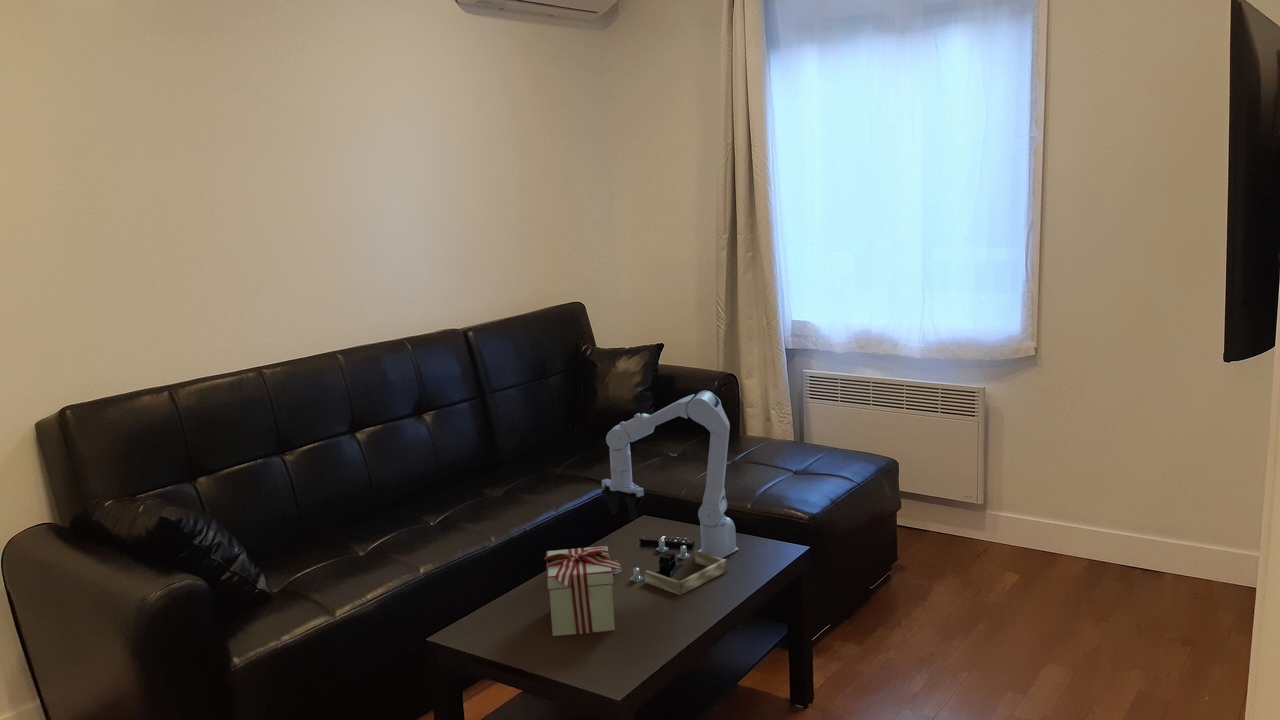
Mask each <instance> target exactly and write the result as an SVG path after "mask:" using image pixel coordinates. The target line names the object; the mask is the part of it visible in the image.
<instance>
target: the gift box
mask: <svg viewBox="0 0 1280 720" xmlns="http://www.w3.org/2000/svg"><path fill="white" fill-rule="evenodd" d="M615 560H616V559H611V557H610V553H609V547H608V545H599V546H591V547H578V548H569V549H557V550H547V551H546V553H545V557H544V559H543V561H545V562H546V566H545V568H546V578H547V579H546V580H547V590H548V602H549V613H550V622H551V631H552V632H551V634H552V637H563V636H573V635H574V636H575V635H583V634H584V635H585V634H593V633H595V634H596V633H604V632H606V633H607V632H613V631H615V628H616V625H615V615H614V614H615V612H614V601H613V600H614V599H613V598H614V597H613V596H614V595H613V594H614V593H613V584H614V574H613V571H612V569H616V570H621V569H622V567H621V562H620V561H618V560H617V561H615Z"/></svg>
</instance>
